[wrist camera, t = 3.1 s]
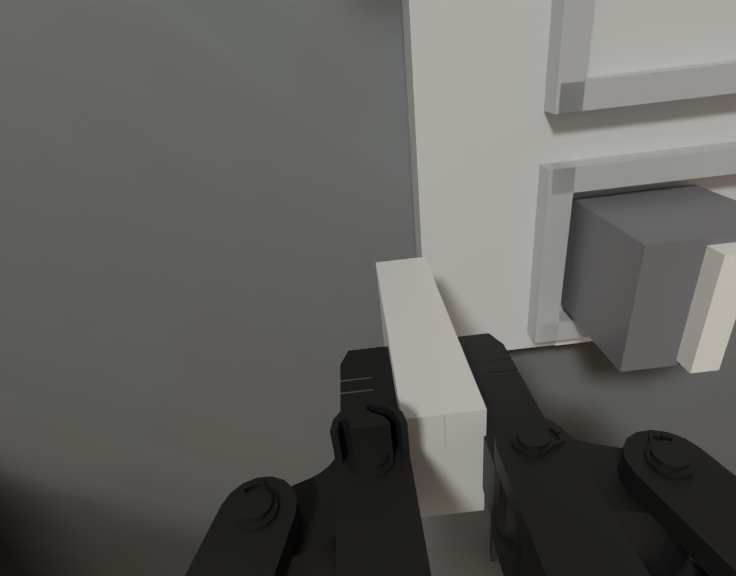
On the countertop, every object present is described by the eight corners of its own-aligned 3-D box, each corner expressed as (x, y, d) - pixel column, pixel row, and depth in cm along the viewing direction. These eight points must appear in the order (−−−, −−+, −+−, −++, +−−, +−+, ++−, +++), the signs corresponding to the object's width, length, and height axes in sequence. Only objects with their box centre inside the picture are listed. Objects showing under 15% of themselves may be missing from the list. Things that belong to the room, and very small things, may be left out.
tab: (560, 303, 17) (631, 385, 13) (572, 198, 15) (660, 255, 11) (668, 290, 17) (773, 368, 13) (694, 184, 15) (827, 235, 11)
